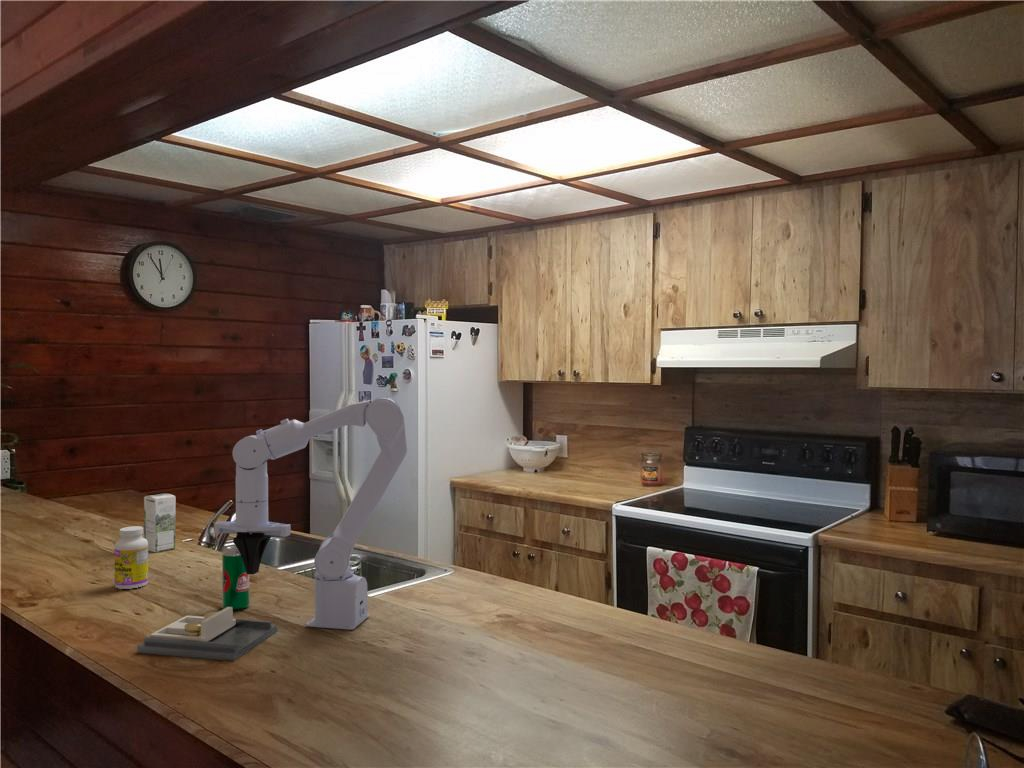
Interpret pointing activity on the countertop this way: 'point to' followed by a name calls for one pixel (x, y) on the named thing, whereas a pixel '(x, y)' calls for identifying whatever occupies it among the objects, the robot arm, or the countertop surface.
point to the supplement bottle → (131, 559)
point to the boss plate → (212, 641)
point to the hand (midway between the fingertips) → (252, 572)
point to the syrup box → (160, 522)
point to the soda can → (234, 580)
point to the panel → (208, 626)
